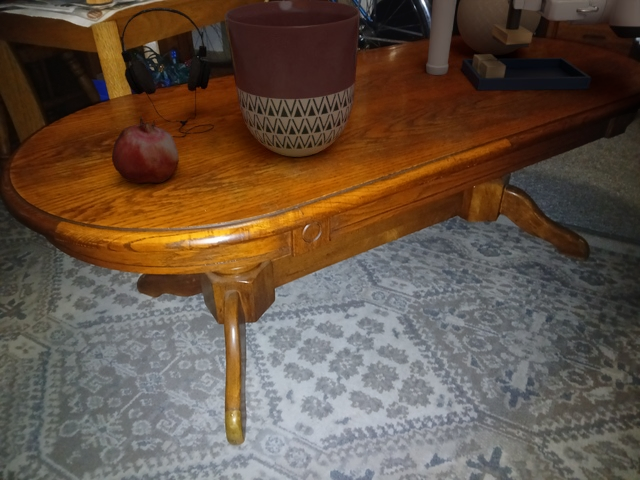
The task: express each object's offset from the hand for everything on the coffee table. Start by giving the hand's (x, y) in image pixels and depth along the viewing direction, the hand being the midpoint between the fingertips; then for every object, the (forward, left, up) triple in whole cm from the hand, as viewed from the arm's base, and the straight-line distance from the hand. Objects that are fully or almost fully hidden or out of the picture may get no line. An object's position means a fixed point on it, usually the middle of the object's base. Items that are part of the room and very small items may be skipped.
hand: (511, 1), depth 103 cm
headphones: (+65, +21, -17) cm, 71 cm away
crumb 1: (+1, -7, -16) cm, 18 cm away
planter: (+42, +32, -17) cm, 56 cm away
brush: (-1, 0, -8) cm, 8 cm away
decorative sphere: (-6, -26, -17) cm, 31 cm away
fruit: (+64, +42, -17) cm, 79 cm away
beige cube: (+1, -1, -16) cm, 16 cm away
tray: (-7, -5, -17) cm, 19 cm away
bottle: (+11, -11, -17) cm, 23 cm away
